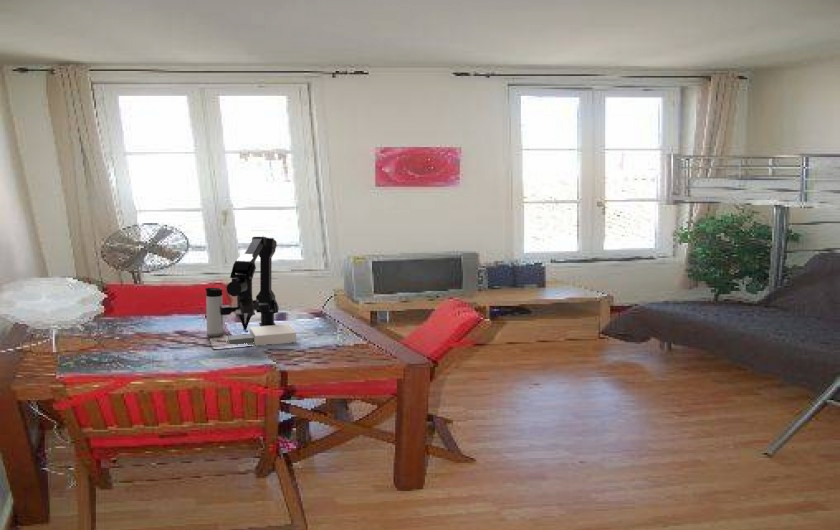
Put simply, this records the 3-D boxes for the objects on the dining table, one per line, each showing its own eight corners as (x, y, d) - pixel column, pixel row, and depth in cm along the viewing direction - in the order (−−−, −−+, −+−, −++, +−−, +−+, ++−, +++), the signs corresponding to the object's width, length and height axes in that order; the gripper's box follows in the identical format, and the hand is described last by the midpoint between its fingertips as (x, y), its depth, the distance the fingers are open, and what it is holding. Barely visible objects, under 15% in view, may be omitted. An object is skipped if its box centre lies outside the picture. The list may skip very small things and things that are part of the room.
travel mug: (203, 334, 218) (202, 287, 216) (218, 331, 223) (217, 285, 220) (210, 337, 214) (209, 289, 211) (225, 334, 219) (225, 287, 216)
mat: (209, 339, 212) (209, 338, 211) (248, 336, 218) (248, 335, 218) (213, 350, 198) (213, 349, 198) (254, 346, 205) (254, 345, 205)
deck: (249, 336, 218) (249, 327, 217) (288, 333, 225) (288, 324, 225) (255, 346, 206) (255, 336, 205) (296, 342, 213) (296, 332, 212)
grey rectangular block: (229, 344, 205) (229, 339, 204) (227, 340, 210) (227, 335, 210) (253, 342, 208) (253, 337, 208) (251, 338, 214) (251, 333, 214)
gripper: (221, 296, 196) (222, 337, 199) (272, 294, 205) (272, 332, 207) (218, 291, 206) (219, 329, 208) (267, 288, 214) (267, 325, 217)
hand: (245, 329), depth 210 cm, fingers closed
